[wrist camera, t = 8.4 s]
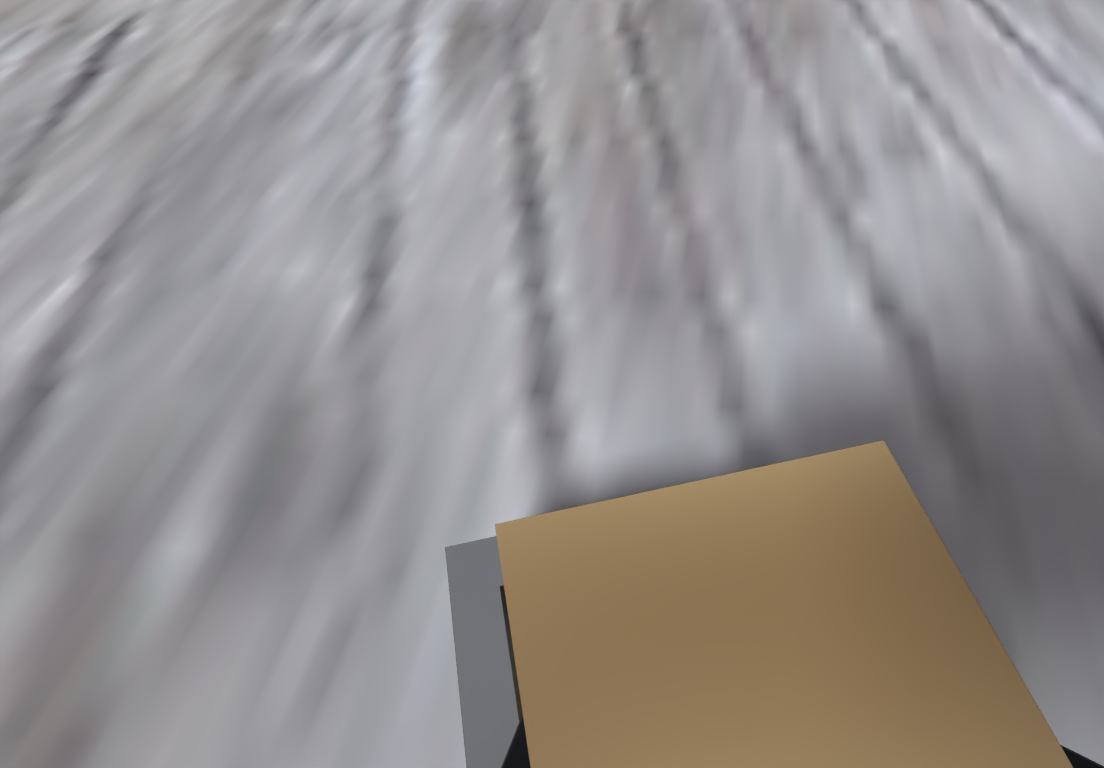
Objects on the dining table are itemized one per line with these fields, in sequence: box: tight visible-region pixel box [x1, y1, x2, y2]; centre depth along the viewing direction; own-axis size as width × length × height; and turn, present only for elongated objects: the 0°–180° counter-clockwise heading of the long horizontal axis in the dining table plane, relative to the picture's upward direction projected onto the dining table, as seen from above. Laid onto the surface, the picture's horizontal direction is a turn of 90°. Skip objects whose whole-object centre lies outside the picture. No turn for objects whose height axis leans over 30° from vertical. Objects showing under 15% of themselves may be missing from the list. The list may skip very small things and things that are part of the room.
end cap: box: [445, 536, 523, 768], centre depth 13 cm, size 10×8×4 cm
